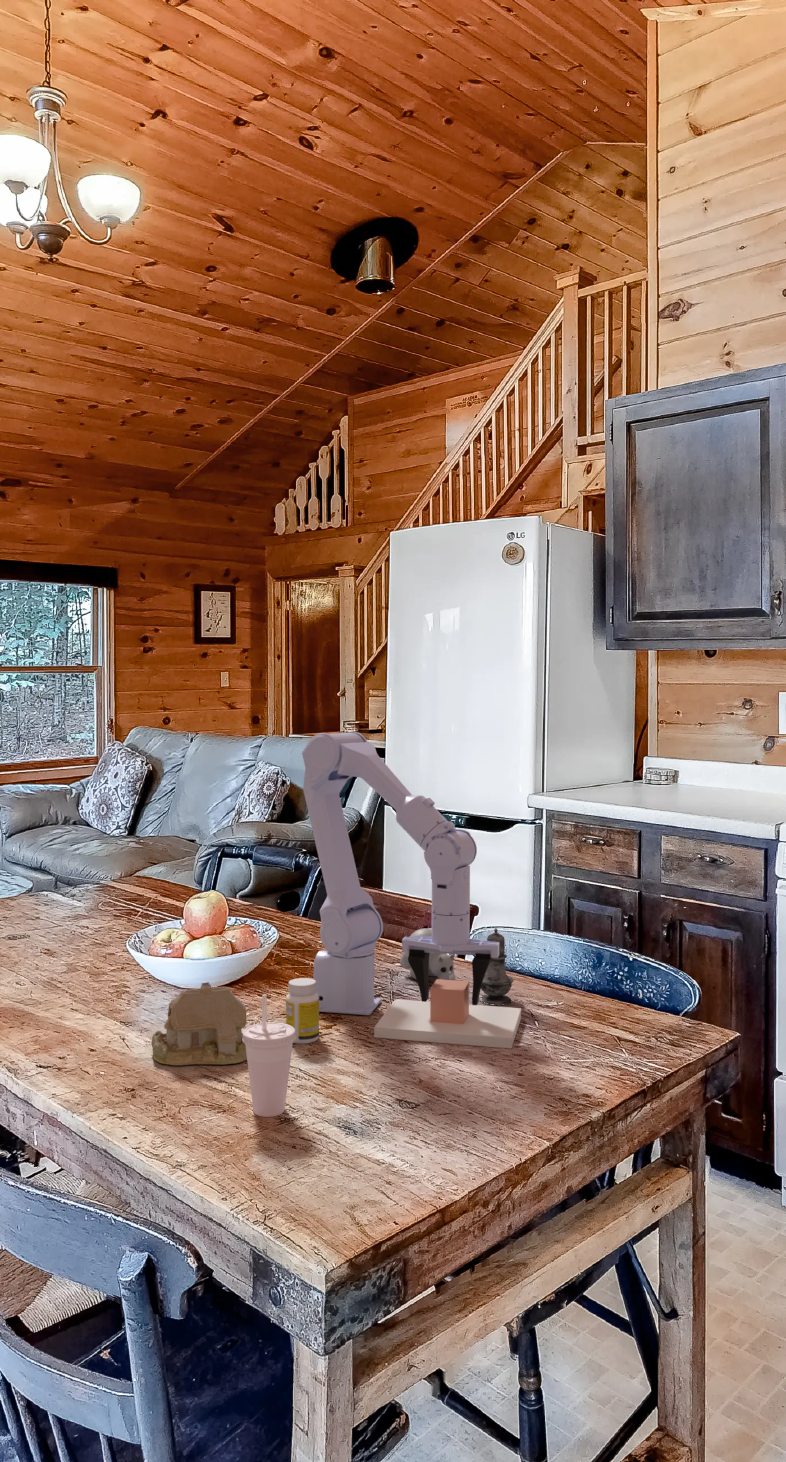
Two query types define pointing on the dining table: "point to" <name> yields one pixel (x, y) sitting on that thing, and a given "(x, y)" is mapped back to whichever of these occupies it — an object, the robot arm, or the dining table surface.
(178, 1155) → the dining table surface
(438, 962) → the round bodied animal figurine
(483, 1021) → the tray
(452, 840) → the robot arm
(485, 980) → the salt shaker
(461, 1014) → the cube
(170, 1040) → the ceramic model
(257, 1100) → the smoothie
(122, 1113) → the dining table surface
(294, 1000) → the supplement bottle
